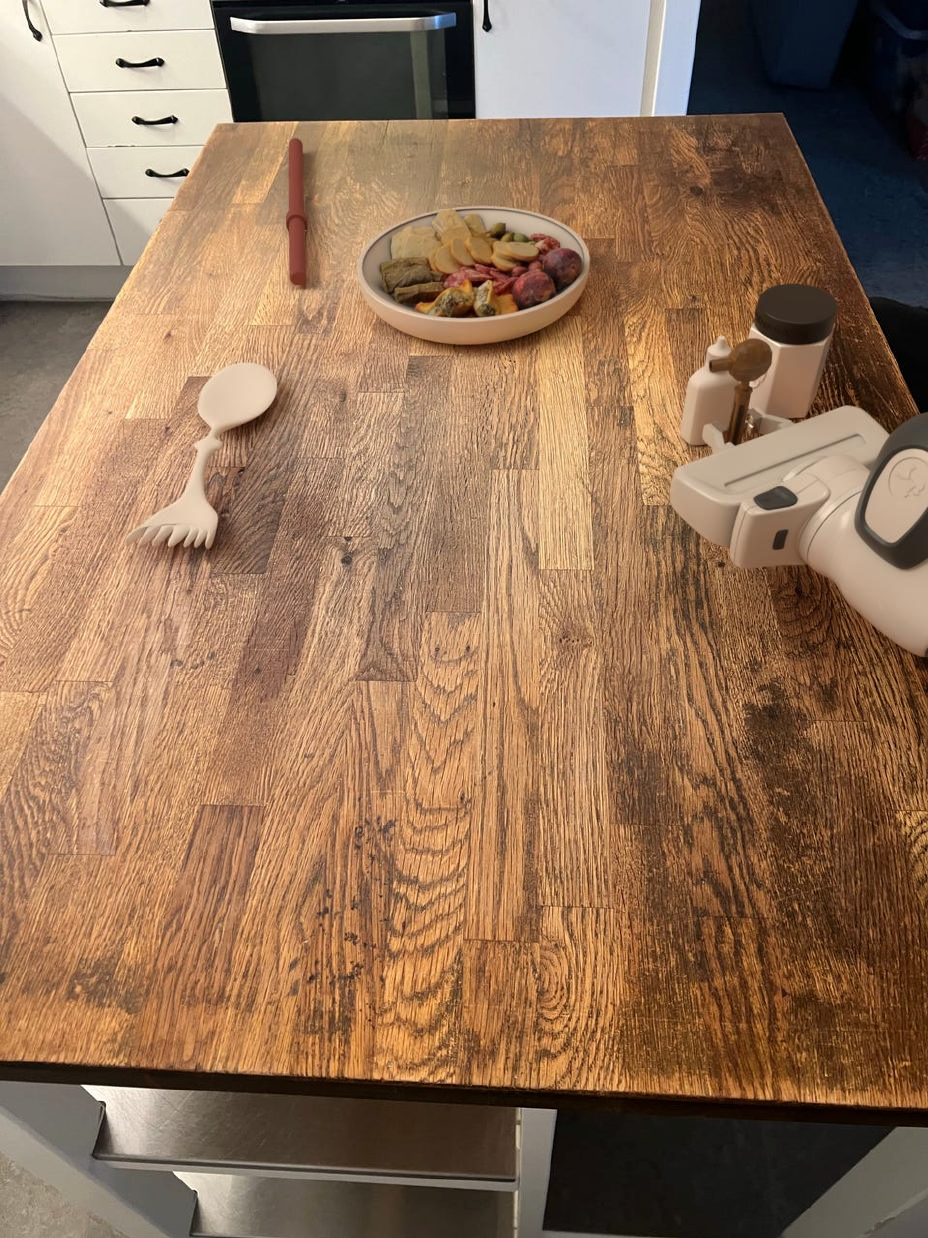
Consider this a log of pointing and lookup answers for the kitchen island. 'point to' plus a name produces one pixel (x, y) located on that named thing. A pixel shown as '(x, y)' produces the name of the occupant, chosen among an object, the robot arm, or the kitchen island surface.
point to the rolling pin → (296, 214)
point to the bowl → (473, 274)
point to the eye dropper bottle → (708, 396)
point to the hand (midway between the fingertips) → (728, 421)
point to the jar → (792, 347)
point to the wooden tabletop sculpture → (743, 379)
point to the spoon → (210, 453)
